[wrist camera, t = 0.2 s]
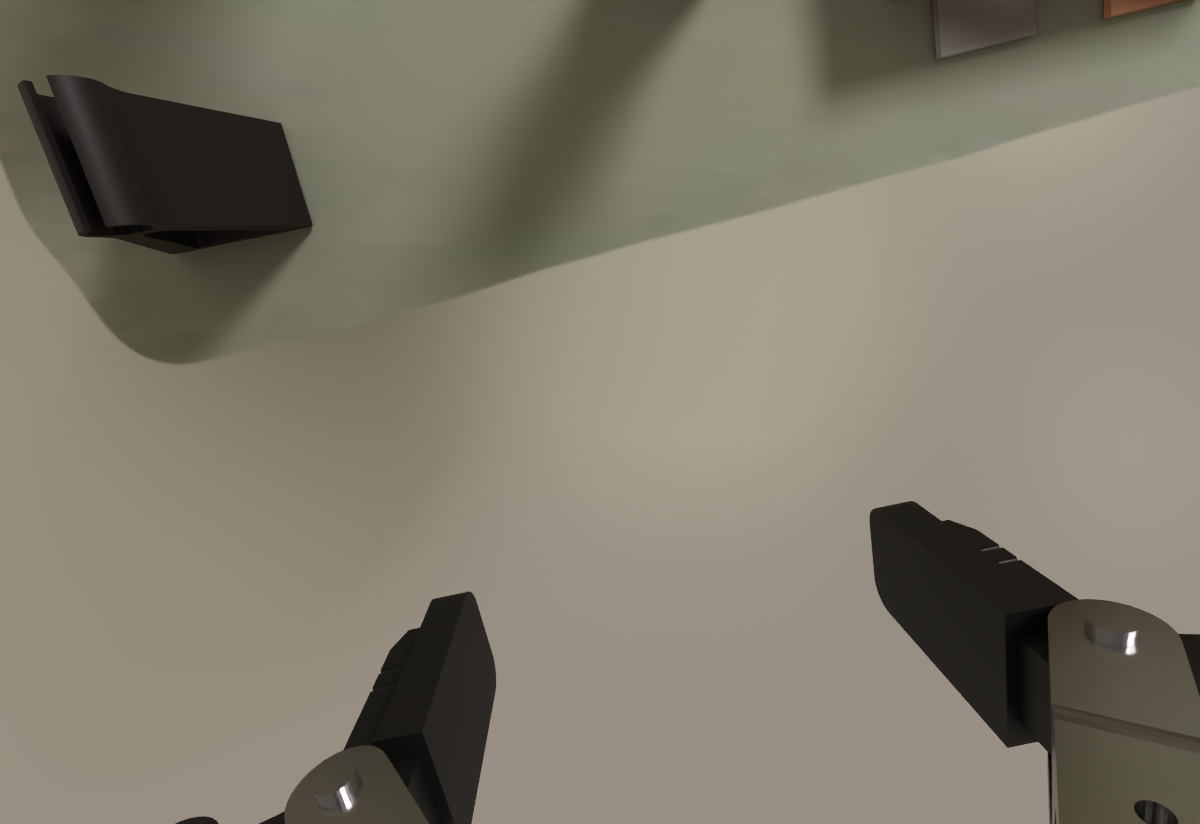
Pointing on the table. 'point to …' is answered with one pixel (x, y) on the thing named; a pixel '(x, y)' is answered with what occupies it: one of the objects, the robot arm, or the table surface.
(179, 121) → the black coffee bag
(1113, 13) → the box
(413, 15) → the table surface
